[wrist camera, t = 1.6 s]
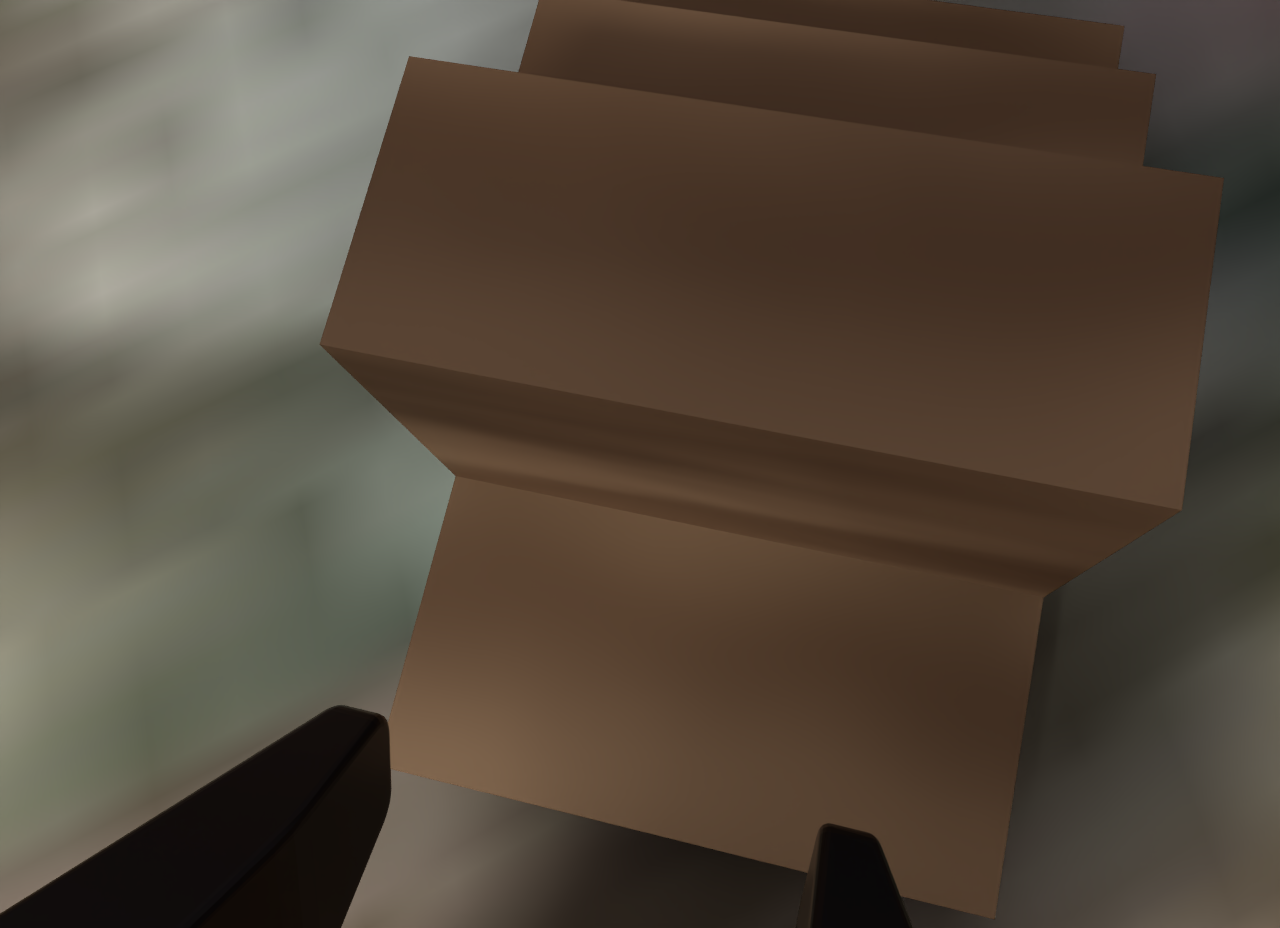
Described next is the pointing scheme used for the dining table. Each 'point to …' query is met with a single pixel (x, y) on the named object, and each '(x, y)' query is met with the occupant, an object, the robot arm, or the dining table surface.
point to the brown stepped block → (772, 405)
